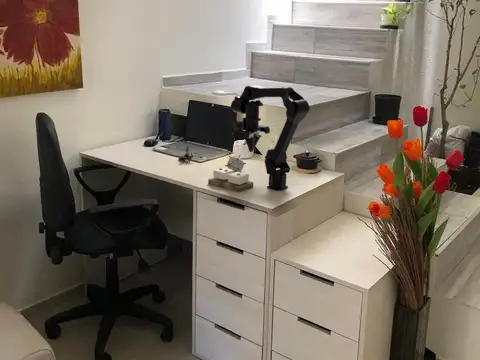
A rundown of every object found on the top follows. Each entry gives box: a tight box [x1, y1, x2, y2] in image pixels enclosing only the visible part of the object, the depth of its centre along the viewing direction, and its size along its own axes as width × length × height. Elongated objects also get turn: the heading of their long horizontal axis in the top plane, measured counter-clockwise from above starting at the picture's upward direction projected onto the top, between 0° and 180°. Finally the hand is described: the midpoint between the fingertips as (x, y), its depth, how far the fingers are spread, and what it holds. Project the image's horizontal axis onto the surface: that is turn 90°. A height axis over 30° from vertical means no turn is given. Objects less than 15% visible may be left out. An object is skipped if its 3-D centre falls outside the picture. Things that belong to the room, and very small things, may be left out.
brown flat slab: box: [207, 177, 254, 193], centre depth 239 cm, size 16×10×2 cm, turn 51°
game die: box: [224, 154, 247, 173], centre depth 256 cm, size 9×8×10 cm
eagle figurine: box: [178, 145, 198, 163], centre depth 274 cm, size 8×7×9 cm
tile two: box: [212, 166, 234, 180], centre depth 241 cm, size 6×6×3 cm
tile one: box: [228, 172, 250, 185], centre depth 236 cm, size 6×6×3 cm
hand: (250, 151), depth 246 cm, fingers closed
